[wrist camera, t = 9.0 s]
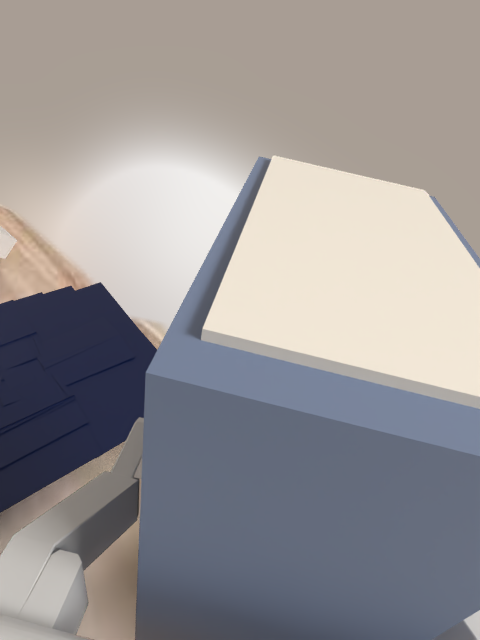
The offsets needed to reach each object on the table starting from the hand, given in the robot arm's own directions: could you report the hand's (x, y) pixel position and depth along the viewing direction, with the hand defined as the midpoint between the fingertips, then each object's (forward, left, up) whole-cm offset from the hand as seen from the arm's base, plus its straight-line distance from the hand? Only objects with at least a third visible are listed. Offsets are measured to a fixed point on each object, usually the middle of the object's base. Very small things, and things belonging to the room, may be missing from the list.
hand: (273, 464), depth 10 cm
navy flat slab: (-23, +16, -25) cm, 37 cm away
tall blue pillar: (0, 0, -8) cm, 9 cm away
